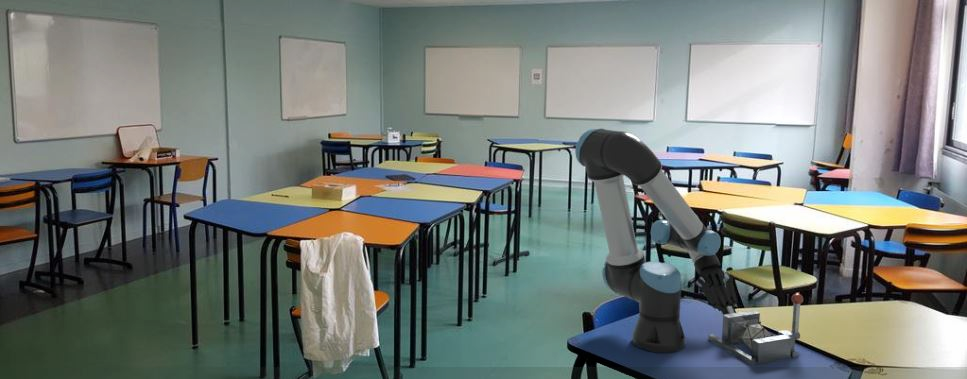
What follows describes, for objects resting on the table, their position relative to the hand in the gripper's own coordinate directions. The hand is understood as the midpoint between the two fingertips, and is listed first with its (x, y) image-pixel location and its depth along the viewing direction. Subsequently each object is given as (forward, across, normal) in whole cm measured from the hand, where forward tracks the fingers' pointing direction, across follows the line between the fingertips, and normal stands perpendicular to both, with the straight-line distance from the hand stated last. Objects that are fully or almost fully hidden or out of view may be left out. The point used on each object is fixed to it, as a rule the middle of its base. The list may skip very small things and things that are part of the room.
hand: (736, 327), depth 207 cm
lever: (+9, -11, +8) cm, 16 cm away
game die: (+9, 0, +4) cm, 10 cm away
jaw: (+4, 0, -1) cm, 4 cm away
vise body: (+8, -1, +3) cm, 8 cm away
